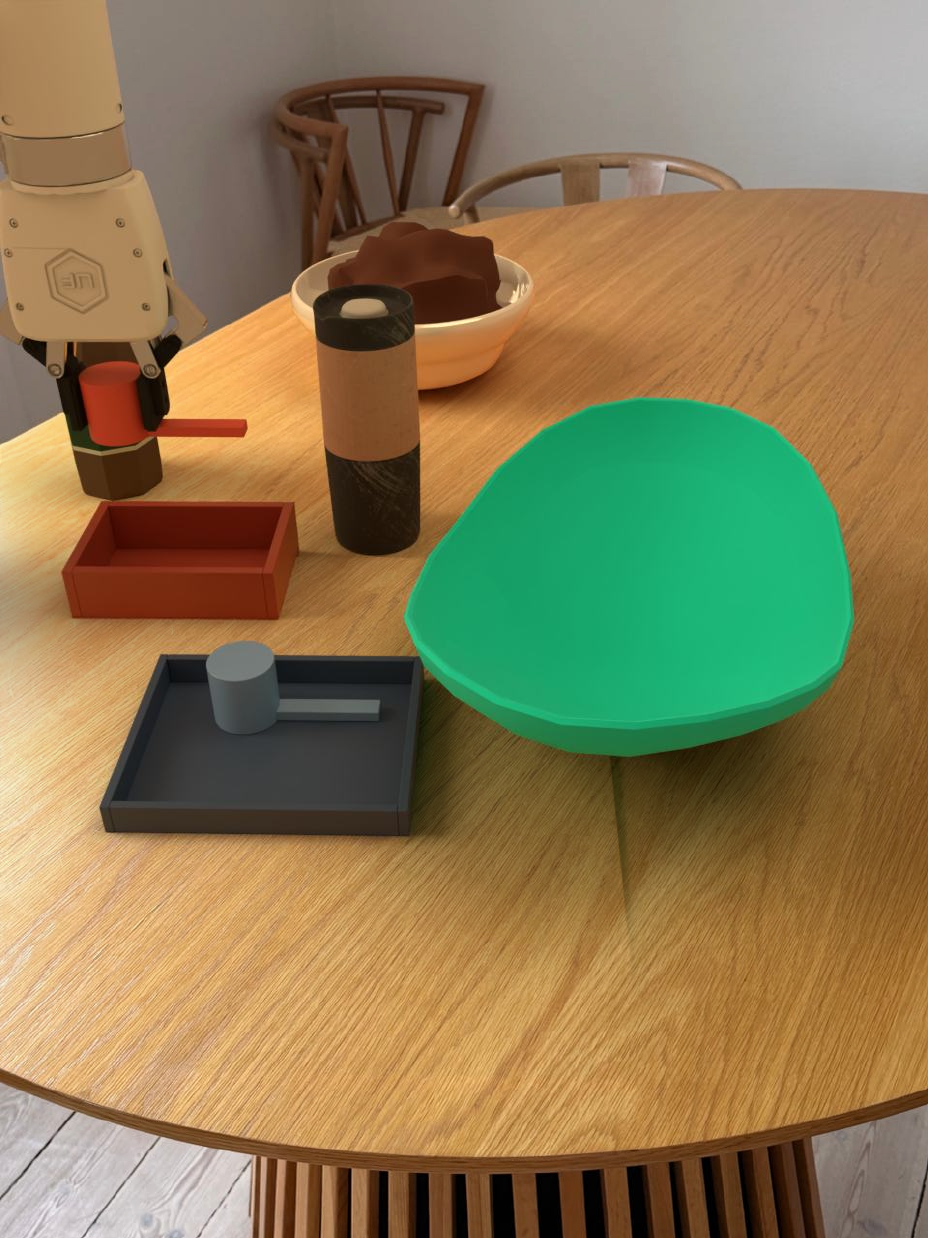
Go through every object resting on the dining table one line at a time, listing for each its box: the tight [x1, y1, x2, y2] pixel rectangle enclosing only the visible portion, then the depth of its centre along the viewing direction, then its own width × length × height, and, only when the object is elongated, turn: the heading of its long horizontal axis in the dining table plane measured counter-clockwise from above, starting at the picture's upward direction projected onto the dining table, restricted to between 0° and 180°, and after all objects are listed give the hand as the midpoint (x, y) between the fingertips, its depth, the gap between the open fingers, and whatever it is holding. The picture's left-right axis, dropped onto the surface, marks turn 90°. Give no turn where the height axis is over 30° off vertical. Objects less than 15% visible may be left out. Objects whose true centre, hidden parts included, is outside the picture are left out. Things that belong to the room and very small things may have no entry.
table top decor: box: [403, 396, 855, 758], centre depth 79 cm, size 40×28×13 cm
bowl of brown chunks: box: [289, 221, 536, 391], centre depth 125 cm, size 25×25×15 cm
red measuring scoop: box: [78, 361, 249, 446], centre depth 85 cm, size 11×4×4 cm, turn 88°
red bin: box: [60, 500, 300, 621], centre depth 94 cm, size 16×11×4 cm
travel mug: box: [313, 284, 421, 556], centre depth 96 cm, size 8×8×20 cm
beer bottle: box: [64, 342, 164, 501], centre depth 103 cm, size 8×8×24 cm
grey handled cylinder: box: [206, 640, 381, 735], centre depth 80 cm, size 11×4×4 cm, turn 88°
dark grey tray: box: [98, 653, 425, 838], centre depth 78 cm, size 18×15×2 cm
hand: (119, 420), depth 86 cm, fingers closed on red measuring scoop, 4 cm apart
